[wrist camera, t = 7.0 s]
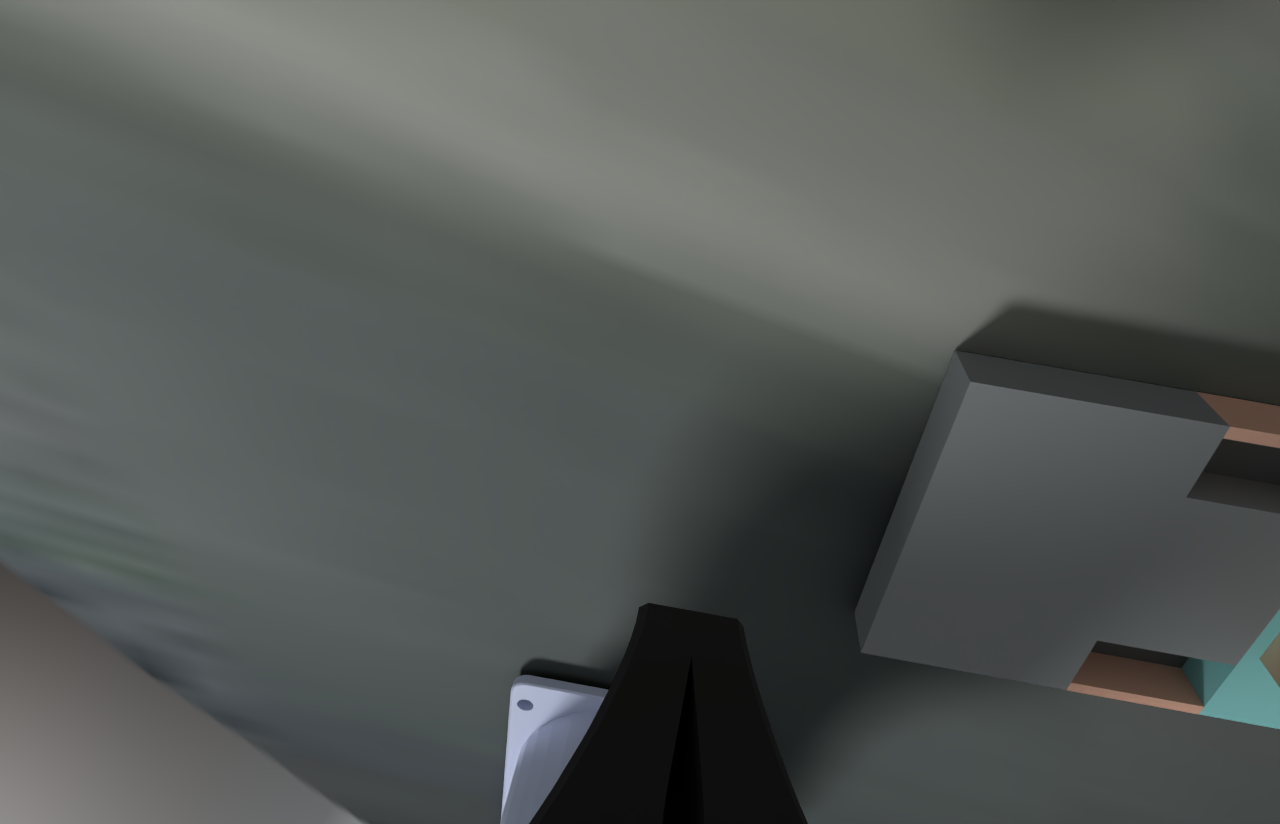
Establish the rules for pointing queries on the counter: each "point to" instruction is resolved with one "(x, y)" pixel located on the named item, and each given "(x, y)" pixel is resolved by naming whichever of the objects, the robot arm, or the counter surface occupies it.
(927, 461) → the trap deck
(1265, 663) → the maple block
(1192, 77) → the counter surface
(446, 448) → the counter surface
